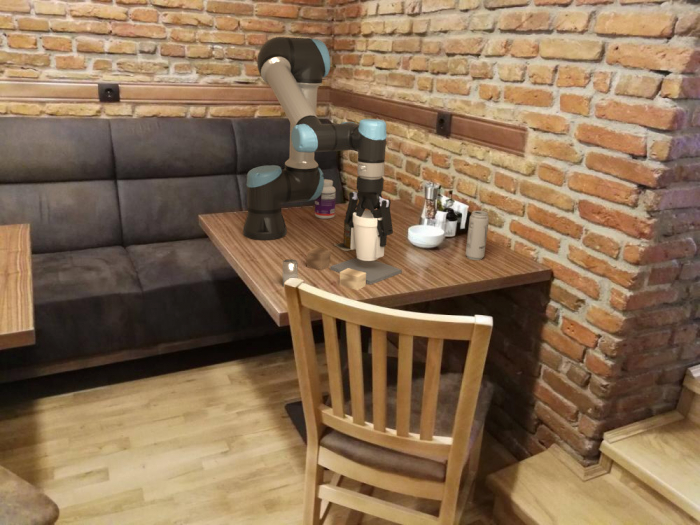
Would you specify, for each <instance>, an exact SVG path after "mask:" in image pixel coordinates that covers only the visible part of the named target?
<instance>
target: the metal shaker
mask: <svg viewBox="0 0 700 525" xmlns="http://www.w3.org/2000/svg"><path fill="white" fill-rule="evenodd" d="M298 263H299V262H298V260H296V259H291V258H289V259H284V260H283V261H282V287H283V288H284V282H285V281H286V280H287V279H289V278H298V277H299V276H298Z"/></svg>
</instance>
